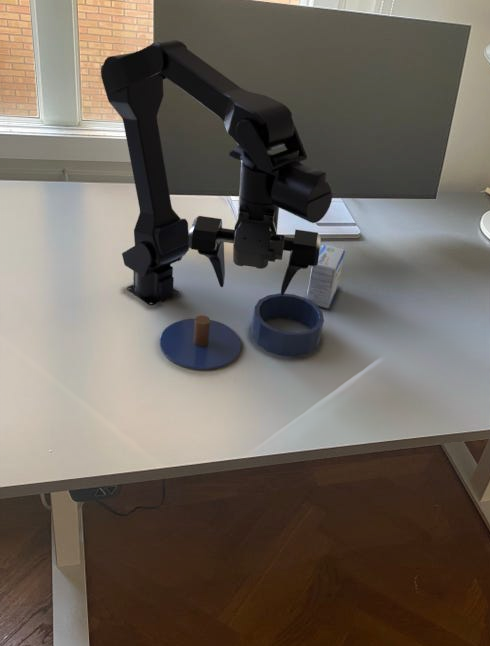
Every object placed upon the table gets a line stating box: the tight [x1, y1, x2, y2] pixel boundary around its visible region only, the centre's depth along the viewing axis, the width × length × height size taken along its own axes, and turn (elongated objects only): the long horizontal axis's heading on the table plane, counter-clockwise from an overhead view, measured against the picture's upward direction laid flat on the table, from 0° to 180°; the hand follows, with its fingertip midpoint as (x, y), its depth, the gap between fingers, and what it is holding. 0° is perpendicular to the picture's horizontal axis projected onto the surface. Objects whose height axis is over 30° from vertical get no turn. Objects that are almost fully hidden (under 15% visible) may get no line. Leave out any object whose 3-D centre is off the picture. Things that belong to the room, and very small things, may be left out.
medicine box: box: [306, 244, 346, 309], centre depth 132 cm, size 8×4×9 cm, turn 168°
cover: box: [159, 314, 242, 371], centre depth 114 cm, size 13×13×6 cm
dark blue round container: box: [250, 292, 325, 357], centre depth 121 cm, size 12×12×5 cm
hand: (252, 289), depth 110 cm, fingers open, 9 cm apart
